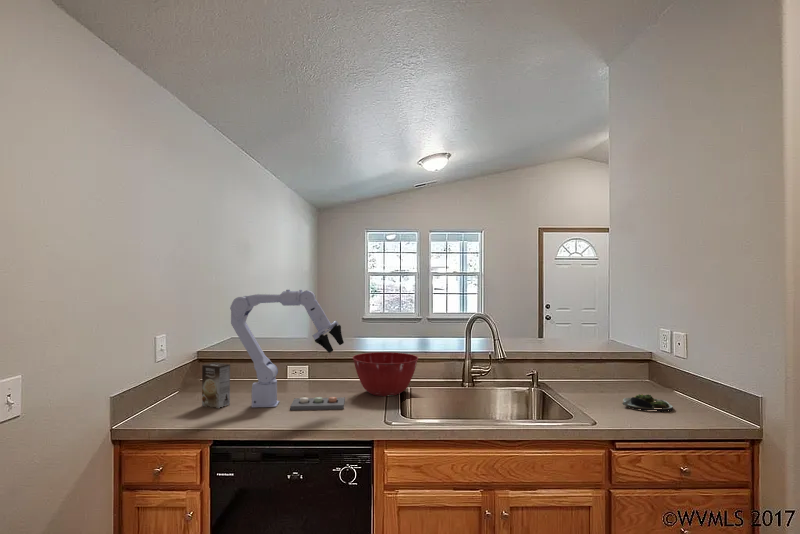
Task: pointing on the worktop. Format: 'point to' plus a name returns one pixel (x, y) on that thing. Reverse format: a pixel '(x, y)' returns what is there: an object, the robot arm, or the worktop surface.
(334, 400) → the terracotta button
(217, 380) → the coffee box
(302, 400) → the cream button
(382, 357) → the mixing bowl
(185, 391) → the worktop surface
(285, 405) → the worktop surface
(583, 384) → the worktop surface
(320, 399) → the sage button
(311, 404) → the button panel
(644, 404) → the salad plate
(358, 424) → the worktop surface
